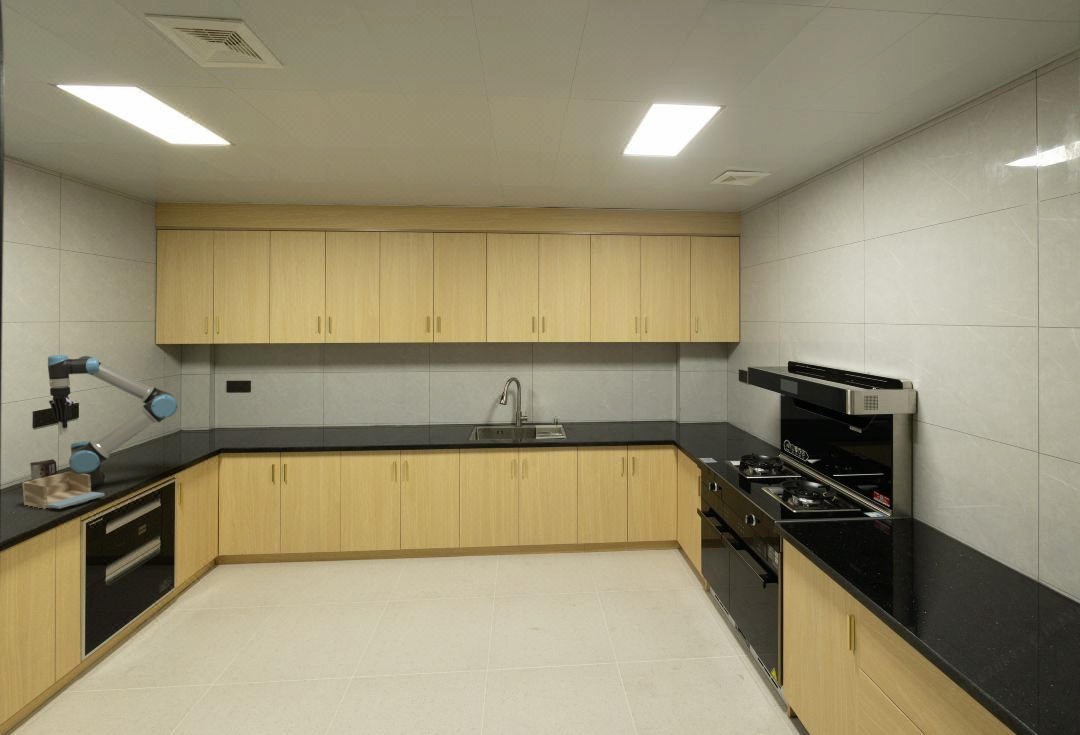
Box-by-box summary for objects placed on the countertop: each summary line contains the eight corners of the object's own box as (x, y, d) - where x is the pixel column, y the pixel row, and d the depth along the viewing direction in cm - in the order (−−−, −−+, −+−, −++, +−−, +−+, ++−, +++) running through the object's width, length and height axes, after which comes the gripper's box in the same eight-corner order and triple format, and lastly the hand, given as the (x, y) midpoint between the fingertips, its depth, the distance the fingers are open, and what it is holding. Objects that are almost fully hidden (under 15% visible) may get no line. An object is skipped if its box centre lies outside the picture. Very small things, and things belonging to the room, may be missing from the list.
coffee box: (55, 489, 291) (53, 458, 289) (59, 492, 287) (56, 461, 285) (32, 494, 284) (29, 462, 282) (35, 497, 280) (32, 464, 278)
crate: (71, 492, 287) (69, 471, 286) (91, 496, 282) (90, 474, 281) (24, 505, 268) (22, 482, 267) (44, 509, 263) (43, 486, 262)
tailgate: (91, 491, 281) (104, 493, 278) (92, 495, 281) (104, 497, 278) (46, 504, 263) (59, 506, 260) (46, 508, 263) (59, 510, 260)
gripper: (41, 387, 277) (45, 435, 280) (61, 388, 274) (65, 437, 276) (58, 385, 284) (62, 431, 287) (77, 386, 281) (81, 433, 283)
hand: (63, 434), depth 282 cm, fingers closed
